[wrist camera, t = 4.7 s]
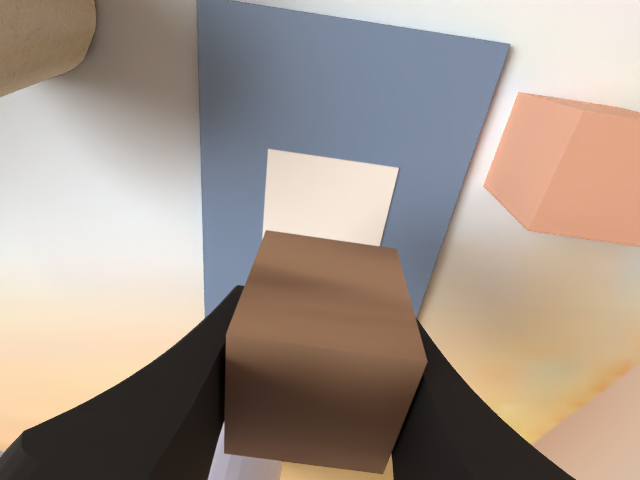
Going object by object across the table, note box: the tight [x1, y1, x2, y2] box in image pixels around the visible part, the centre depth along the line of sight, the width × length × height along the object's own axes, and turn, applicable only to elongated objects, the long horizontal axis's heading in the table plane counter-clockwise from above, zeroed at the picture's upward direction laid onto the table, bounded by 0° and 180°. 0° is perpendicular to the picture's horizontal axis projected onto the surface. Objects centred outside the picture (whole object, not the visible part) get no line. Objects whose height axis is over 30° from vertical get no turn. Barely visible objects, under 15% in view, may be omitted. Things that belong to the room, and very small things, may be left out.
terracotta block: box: [484, 92, 640, 247], centre depth 15 cm, size 4×4×5 cm
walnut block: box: [224, 230, 428, 474], centre depth 11 cm, size 4×4×5 cm
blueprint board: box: [197, 0, 510, 318], centre depth 19 cm, size 18×13×1 cm
